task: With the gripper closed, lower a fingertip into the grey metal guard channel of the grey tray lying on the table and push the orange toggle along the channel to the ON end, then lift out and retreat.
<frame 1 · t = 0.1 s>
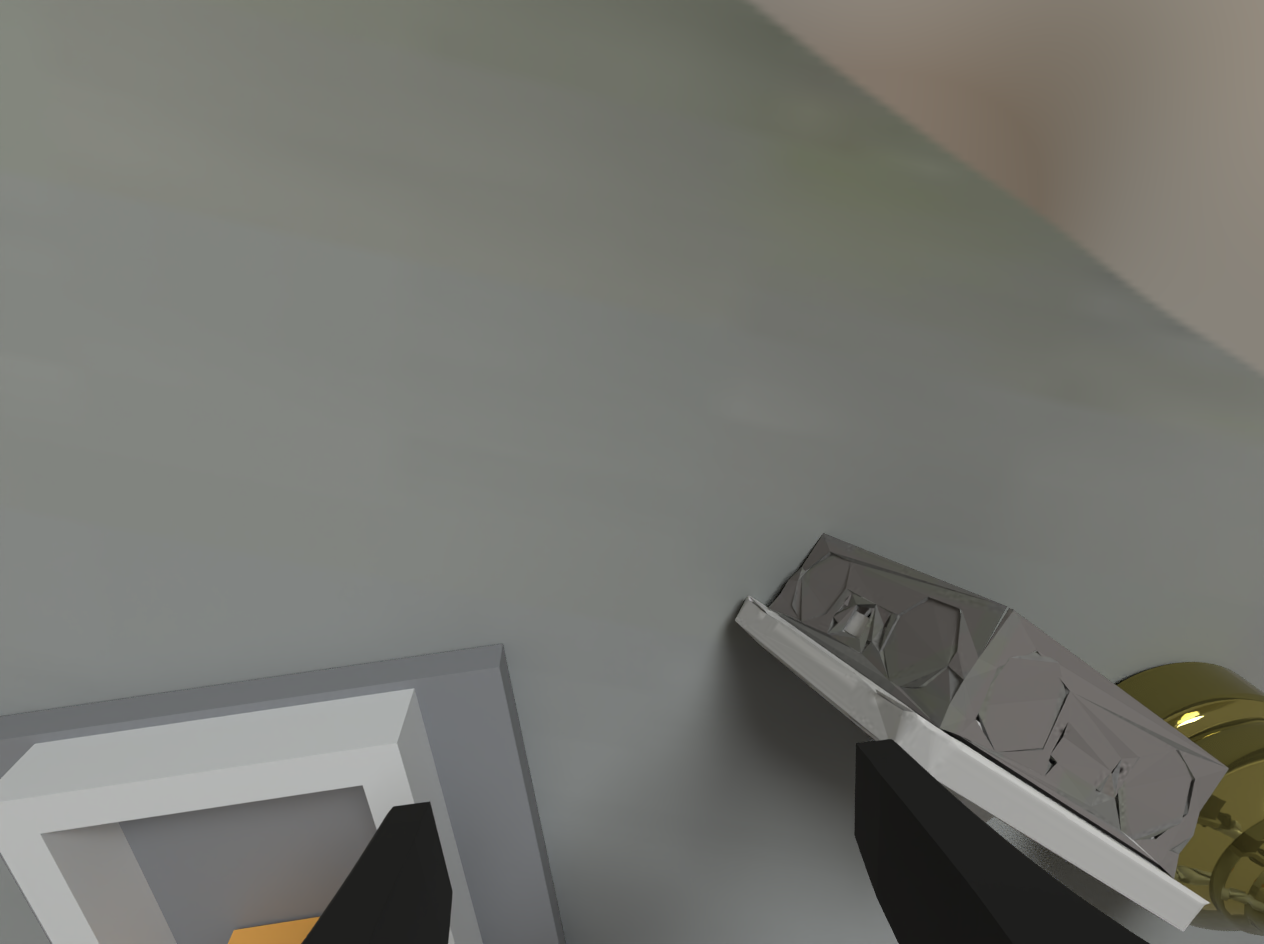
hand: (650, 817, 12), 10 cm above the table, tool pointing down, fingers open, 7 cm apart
grey tray: (319, 895, 25), on the table
salt shaker: (1150, 738, 26), on the table
electrical switch: (880, 611, 23), on the table
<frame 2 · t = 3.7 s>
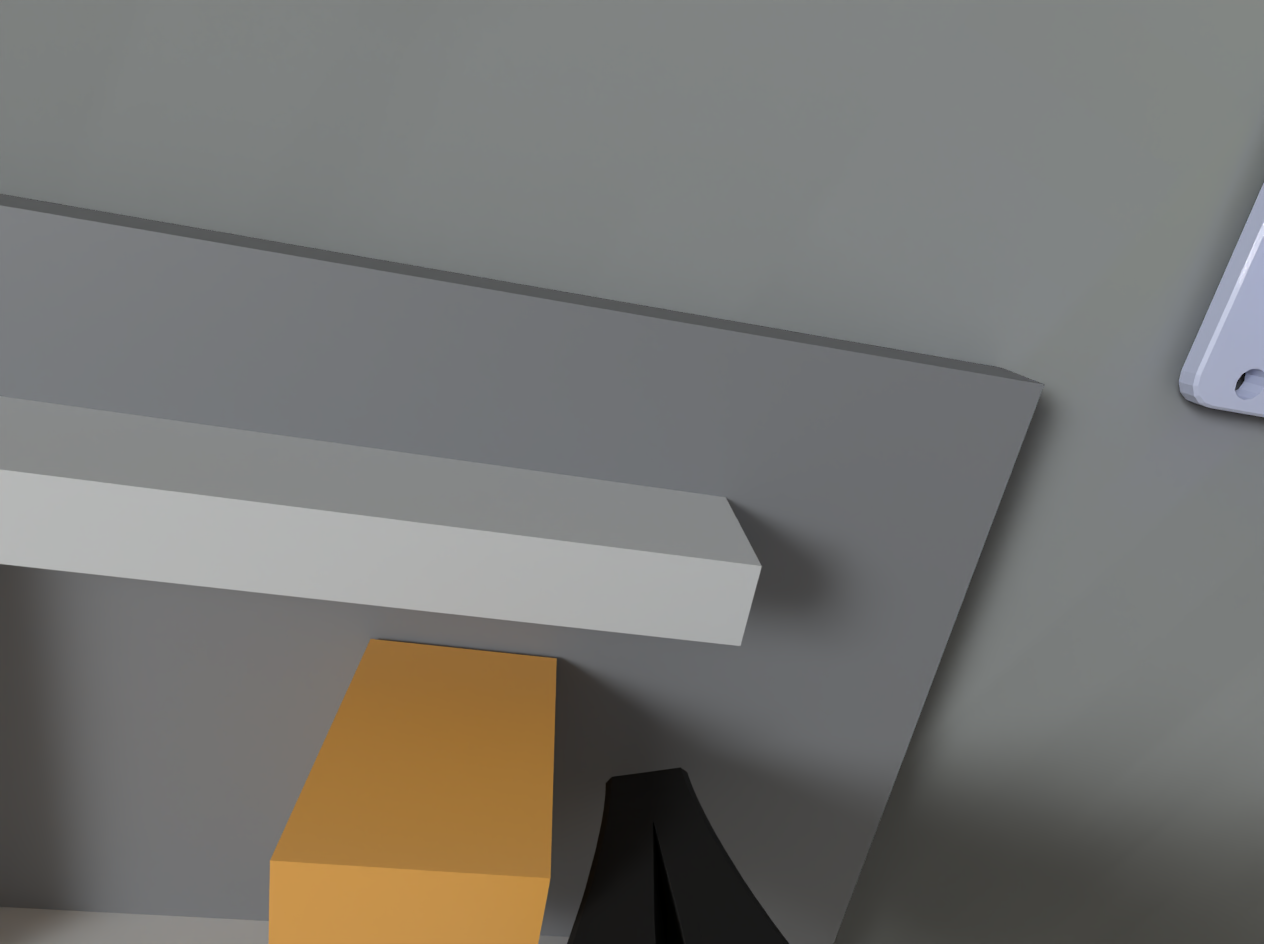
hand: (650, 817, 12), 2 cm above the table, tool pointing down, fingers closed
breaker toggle: (430, 861, 11), point 3 cm above the table, slide at 0.2 cm, touching gripper
grey tray: (419, 705, 14), on the table
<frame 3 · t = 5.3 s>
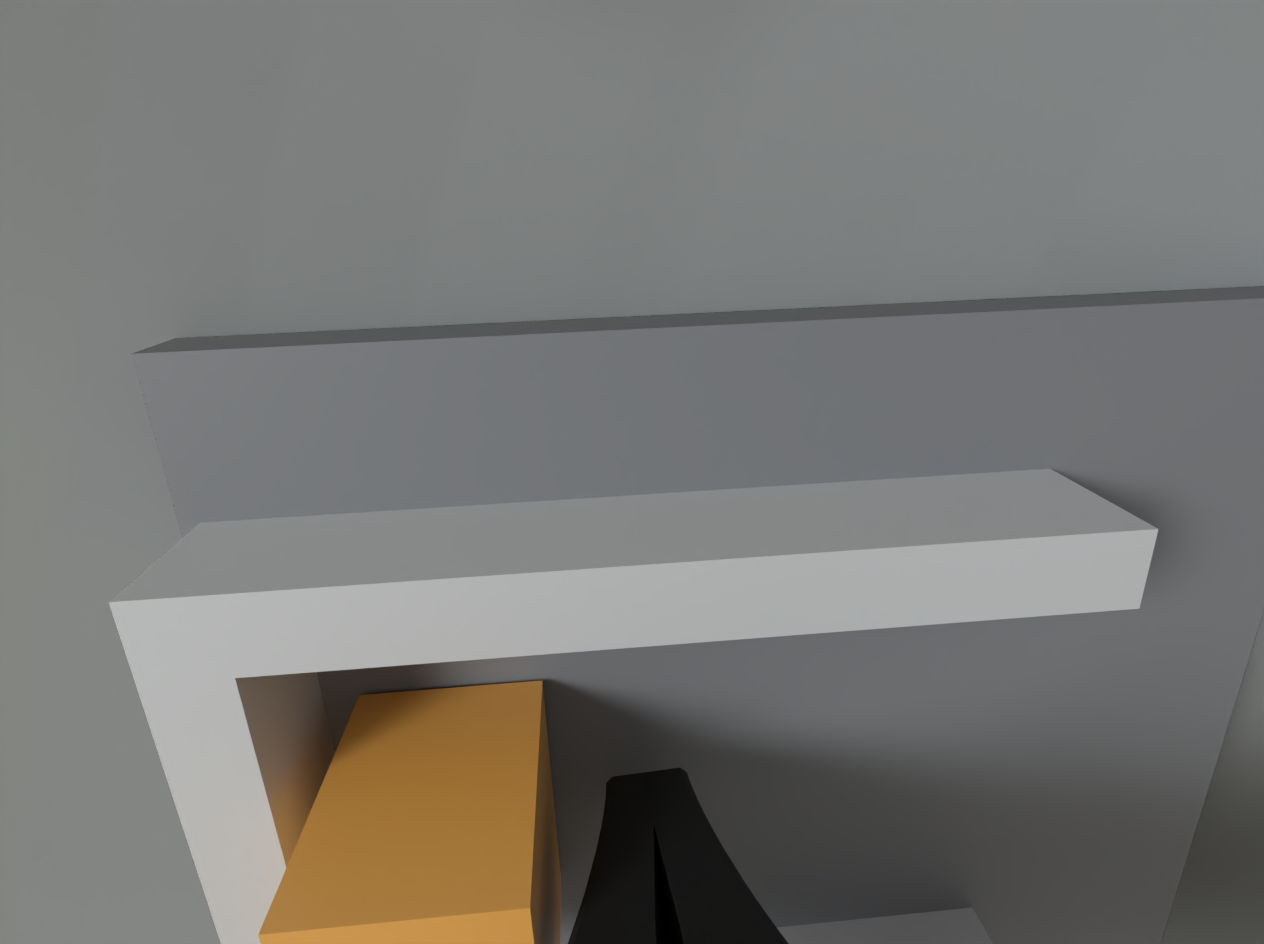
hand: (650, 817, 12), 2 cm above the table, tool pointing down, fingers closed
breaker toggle: (449, 899, 11), point 3 cm above the table, slide at 6.4 cm, touching gripper
grey tray: (749, 719, 14), on the table
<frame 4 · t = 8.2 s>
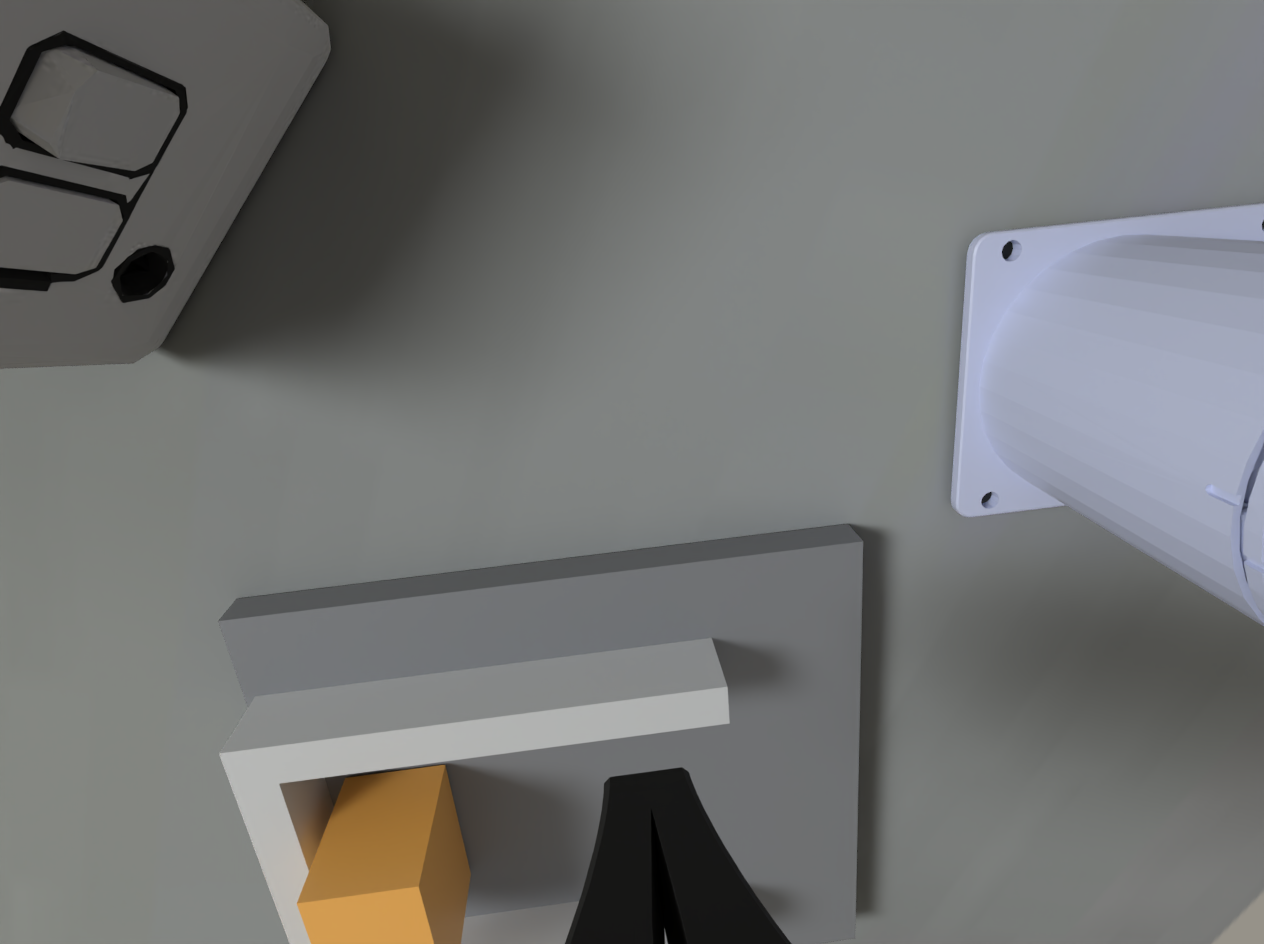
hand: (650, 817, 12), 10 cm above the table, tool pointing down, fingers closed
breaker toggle: (395, 886, 21), point 3 cm above the table, slide at 6.4 cm
grey tray: (580, 774, 24), on the table
electrical switch: (138, 142, 17), on the table
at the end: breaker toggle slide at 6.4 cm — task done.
